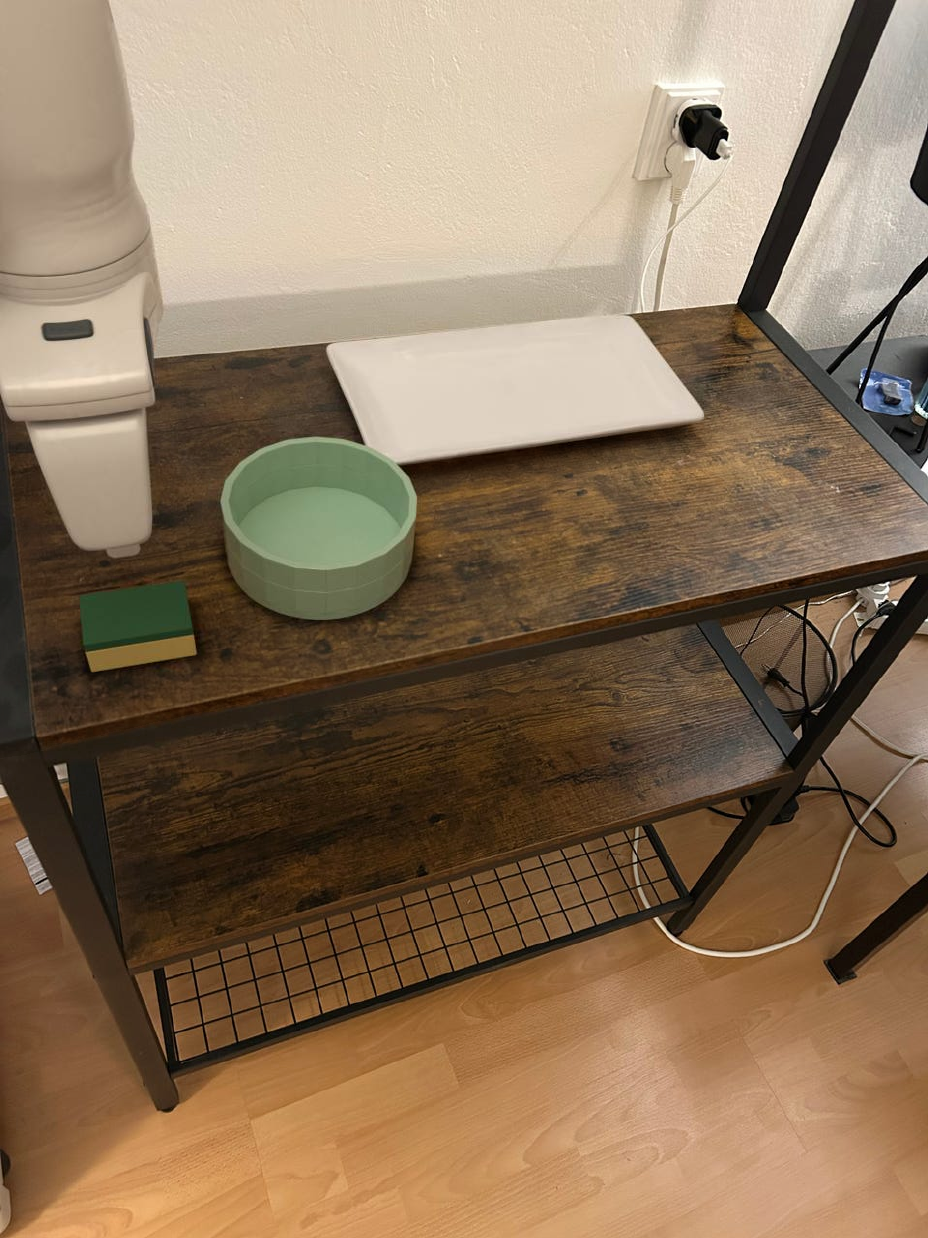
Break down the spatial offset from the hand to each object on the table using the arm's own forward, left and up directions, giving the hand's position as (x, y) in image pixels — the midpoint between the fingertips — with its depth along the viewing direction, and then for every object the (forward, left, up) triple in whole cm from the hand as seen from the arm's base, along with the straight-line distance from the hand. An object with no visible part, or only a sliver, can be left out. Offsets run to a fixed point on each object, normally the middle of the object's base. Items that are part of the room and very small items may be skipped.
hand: (116, 492), depth 58 cm
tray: (+35, +20, -14) cm, 42 cm away
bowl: (+14, +6, -14) cm, 20 cm away
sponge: (0, 0, -14) cm, 14 cm away
